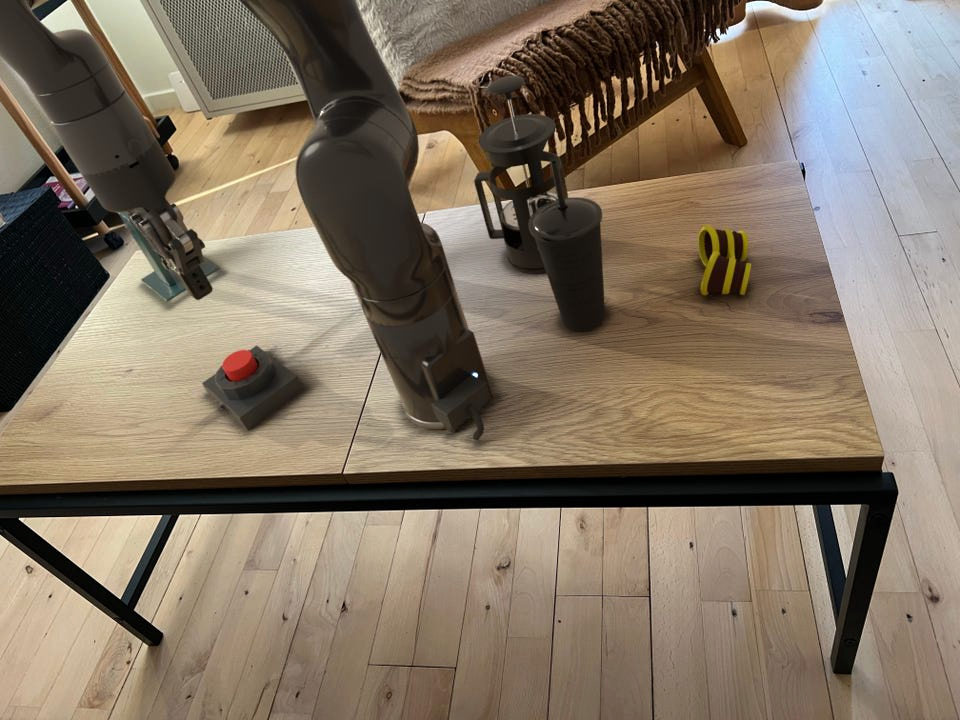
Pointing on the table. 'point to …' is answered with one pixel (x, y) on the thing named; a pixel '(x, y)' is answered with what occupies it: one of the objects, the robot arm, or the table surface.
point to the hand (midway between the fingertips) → (202, 294)
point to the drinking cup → (572, 256)
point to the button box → (254, 390)
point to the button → (239, 365)
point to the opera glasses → (723, 260)
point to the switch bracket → (161, 266)
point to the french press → (515, 147)
